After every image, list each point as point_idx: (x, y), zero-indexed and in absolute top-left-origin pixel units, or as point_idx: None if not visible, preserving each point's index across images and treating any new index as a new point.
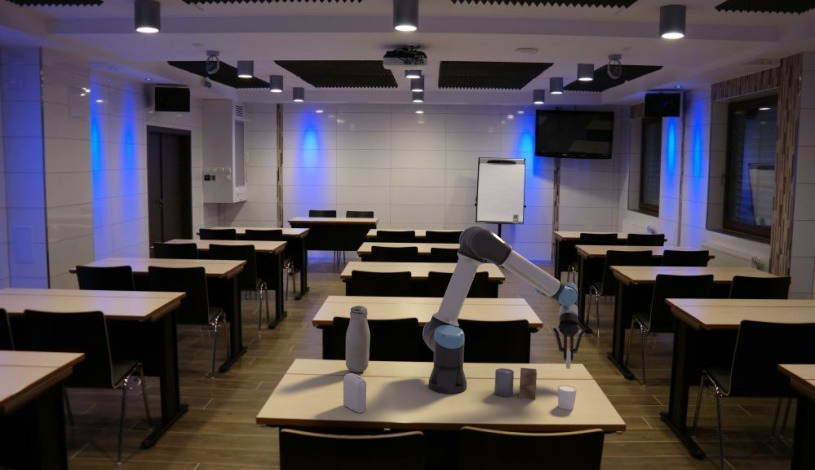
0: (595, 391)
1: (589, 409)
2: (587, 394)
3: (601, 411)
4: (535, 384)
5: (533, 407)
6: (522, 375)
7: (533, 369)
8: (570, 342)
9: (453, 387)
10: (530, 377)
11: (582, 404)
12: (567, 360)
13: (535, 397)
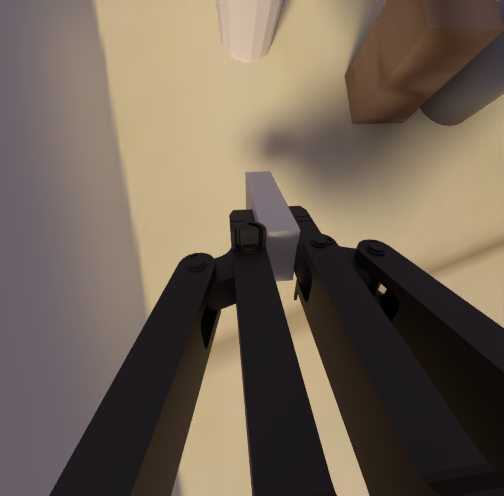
0: (133, 213)
1: (169, 33)
2: (168, 170)
3: (129, 24)
4: (379, 19)
5: (341, 13)
6: None
7: (440, 16)
8: (288, 329)
9: None
10: None
11: (191, 69)
12: (271, 184)
13: (348, 70)
